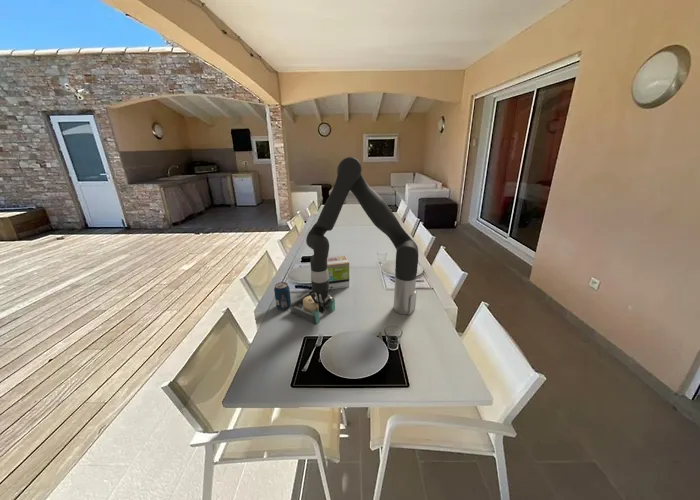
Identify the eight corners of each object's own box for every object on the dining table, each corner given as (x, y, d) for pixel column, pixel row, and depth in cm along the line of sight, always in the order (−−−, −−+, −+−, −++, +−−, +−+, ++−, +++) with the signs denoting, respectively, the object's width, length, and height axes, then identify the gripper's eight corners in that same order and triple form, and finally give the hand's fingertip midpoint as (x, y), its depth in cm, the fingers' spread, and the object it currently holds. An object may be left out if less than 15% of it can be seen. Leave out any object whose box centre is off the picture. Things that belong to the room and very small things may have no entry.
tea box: (322, 291, 149) (320, 266, 143) (319, 282, 158) (317, 258, 152) (350, 287, 153) (349, 262, 147) (345, 278, 162) (344, 254, 156)
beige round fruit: (322, 309, 134) (322, 297, 132) (313, 317, 129) (312, 305, 126) (310, 304, 138) (309, 293, 136) (300, 312, 132) (299, 301, 130)
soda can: (285, 301, 141) (282, 280, 136) (294, 306, 137) (292, 284, 132) (273, 307, 136) (270, 285, 131) (282, 313, 132) (279, 290, 127)
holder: (335, 309, 134) (334, 298, 131) (316, 324, 124) (315, 313, 121) (310, 299, 142) (309, 289, 140) (290, 313, 132) (289, 302, 130)
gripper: (337, 278, 122) (338, 312, 128) (314, 270, 129) (316, 303, 135) (326, 285, 116) (328, 321, 123) (302, 277, 123) (305, 311, 130)
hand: (322, 311), depth 129 cm, fingers closed
